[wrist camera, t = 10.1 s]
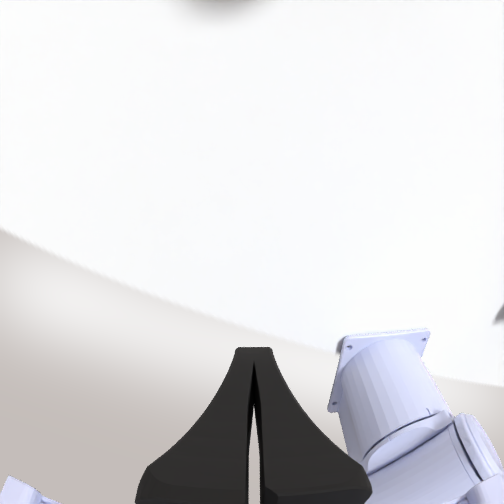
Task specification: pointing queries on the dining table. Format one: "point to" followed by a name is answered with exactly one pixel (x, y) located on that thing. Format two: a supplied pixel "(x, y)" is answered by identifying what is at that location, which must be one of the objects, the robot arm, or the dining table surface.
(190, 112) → the dining table surface
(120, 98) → the dining table surface
